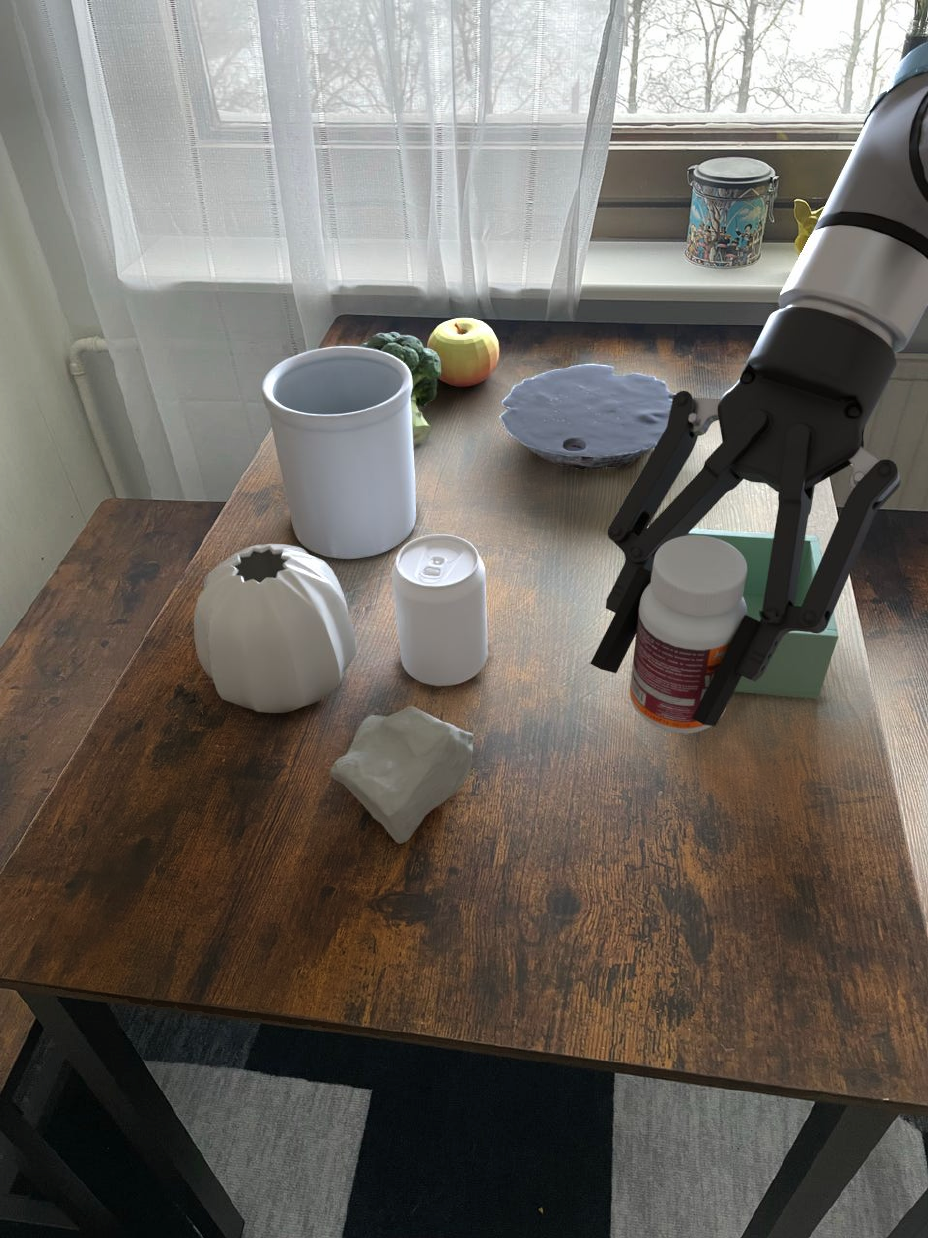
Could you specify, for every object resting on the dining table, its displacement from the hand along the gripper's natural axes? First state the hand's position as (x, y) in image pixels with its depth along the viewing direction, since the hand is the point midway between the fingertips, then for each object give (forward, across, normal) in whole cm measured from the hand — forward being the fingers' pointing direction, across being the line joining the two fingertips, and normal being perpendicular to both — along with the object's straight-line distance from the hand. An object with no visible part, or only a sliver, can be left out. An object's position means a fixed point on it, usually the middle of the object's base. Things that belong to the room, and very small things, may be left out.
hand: (652, 694), depth 55 cm
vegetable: (-12, +58, -42) cm, 73 cm away
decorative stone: (+18, +19, -12) cm, 29 cm away
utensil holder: (+1, +48, -28) cm, 56 cm away
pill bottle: (0, 0, -5) cm, 5 cm away
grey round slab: (-19, +37, -49) cm, 64 cm away
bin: (-5, +6, -34) cm, 35 cm away
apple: (-22, +60, -51) cm, 82 cm away
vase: (+16, +36, -14) cm, 42 cm away
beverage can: (+8, +26, -21) cm, 34 cm away
